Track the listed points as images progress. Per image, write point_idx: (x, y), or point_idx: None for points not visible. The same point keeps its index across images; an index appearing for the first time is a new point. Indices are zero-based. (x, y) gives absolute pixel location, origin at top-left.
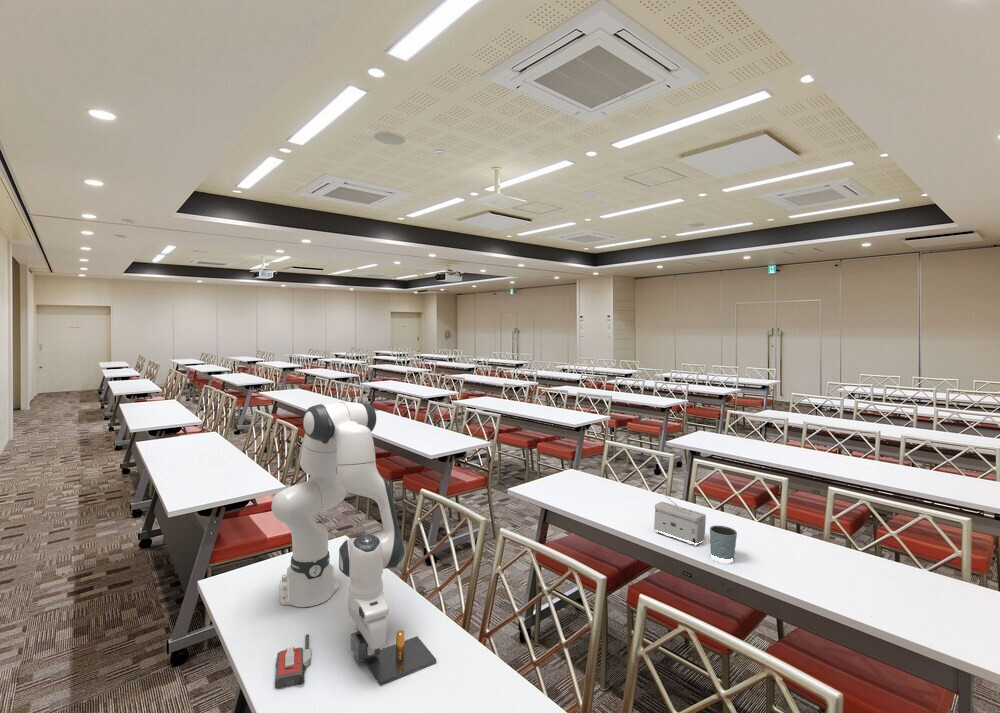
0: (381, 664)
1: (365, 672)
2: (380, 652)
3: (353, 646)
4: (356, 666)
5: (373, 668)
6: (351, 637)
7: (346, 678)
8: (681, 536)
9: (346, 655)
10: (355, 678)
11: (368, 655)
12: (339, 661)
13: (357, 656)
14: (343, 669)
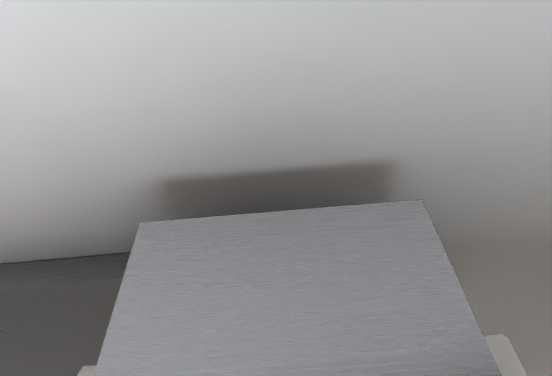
0: (92, 349)
1: (83, 216)
2: None
3: (331, 282)
4: (207, 165)
5: (53, 296)
6: (463, 349)
7: (29, 30)
8: None
9: (447, 113)
10: (8, 120)
11: (82, 367)
12: (392, 16)
13: (151, 262)
14: (214, 31)
